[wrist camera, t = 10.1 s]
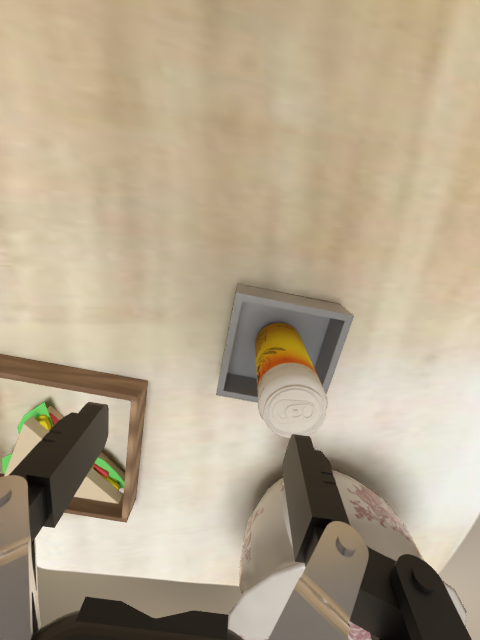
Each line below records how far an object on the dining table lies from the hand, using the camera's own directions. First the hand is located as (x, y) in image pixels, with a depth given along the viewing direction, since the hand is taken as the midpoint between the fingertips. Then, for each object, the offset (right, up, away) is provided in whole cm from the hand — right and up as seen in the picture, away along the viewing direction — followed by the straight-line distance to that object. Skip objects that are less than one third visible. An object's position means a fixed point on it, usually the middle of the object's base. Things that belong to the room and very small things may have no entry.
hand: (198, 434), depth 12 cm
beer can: (+7, +2, +26) cm, 27 cm away
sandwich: (-25, -17, +34) cm, 46 cm away
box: (+7, +2, +26) cm, 27 cm away
